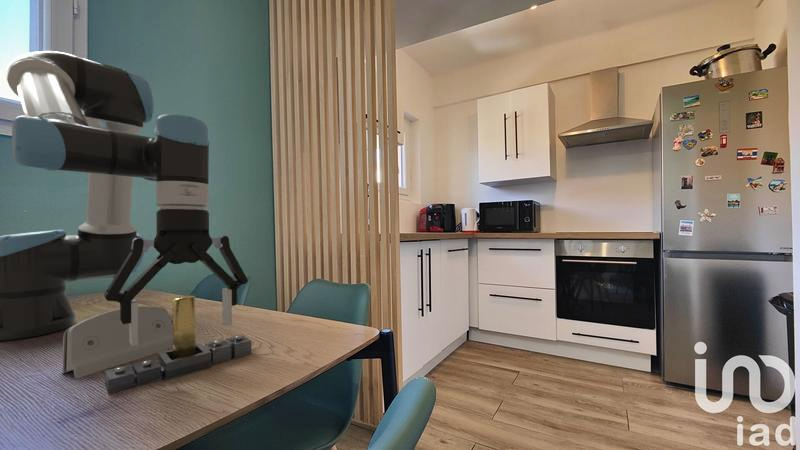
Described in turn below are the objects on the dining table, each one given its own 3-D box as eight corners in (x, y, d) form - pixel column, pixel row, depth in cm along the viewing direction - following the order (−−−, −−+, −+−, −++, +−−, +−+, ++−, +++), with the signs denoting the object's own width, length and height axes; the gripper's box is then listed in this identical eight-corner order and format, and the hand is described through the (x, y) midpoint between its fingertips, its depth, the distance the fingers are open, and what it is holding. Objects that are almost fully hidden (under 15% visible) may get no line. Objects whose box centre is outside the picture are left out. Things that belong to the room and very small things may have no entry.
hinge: (73, 379, 52) (63, 317, 54) (61, 383, 54) (52, 323, 56) (183, 345, 67) (173, 297, 69) (170, 349, 69) (161, 302, 71)
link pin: (171, 367, 56) (170, 297, 56) (192, 362, 59) (192, 294, 59) (175, 373, 54) (175, 300, 54) (197, 367, 56) (197, 297, 56)
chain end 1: (104, 381, 52) (104, 364, 52) (200, 357, 61) (200, 342, 61) (108, 396, 47) (108, 378, 47) (211, 367, 56) (211, 352, 56)
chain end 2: (158, 367, 56) (157, 349, 56) (240, 346, 66) (240, 330, 66) (166, 380, 52) (166, 359, 52) (253, 355, 62) (253, 338, 62)
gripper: (83, 204, 45) (84, 360, 45) (265, 209, 63) (266, 321, 63) (81, 207, 50) (82, 346, 50) (249, 211, 68) (250, 314, 68)
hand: (184, 333), depth 56 cm, fingers open, 13 cm apart
